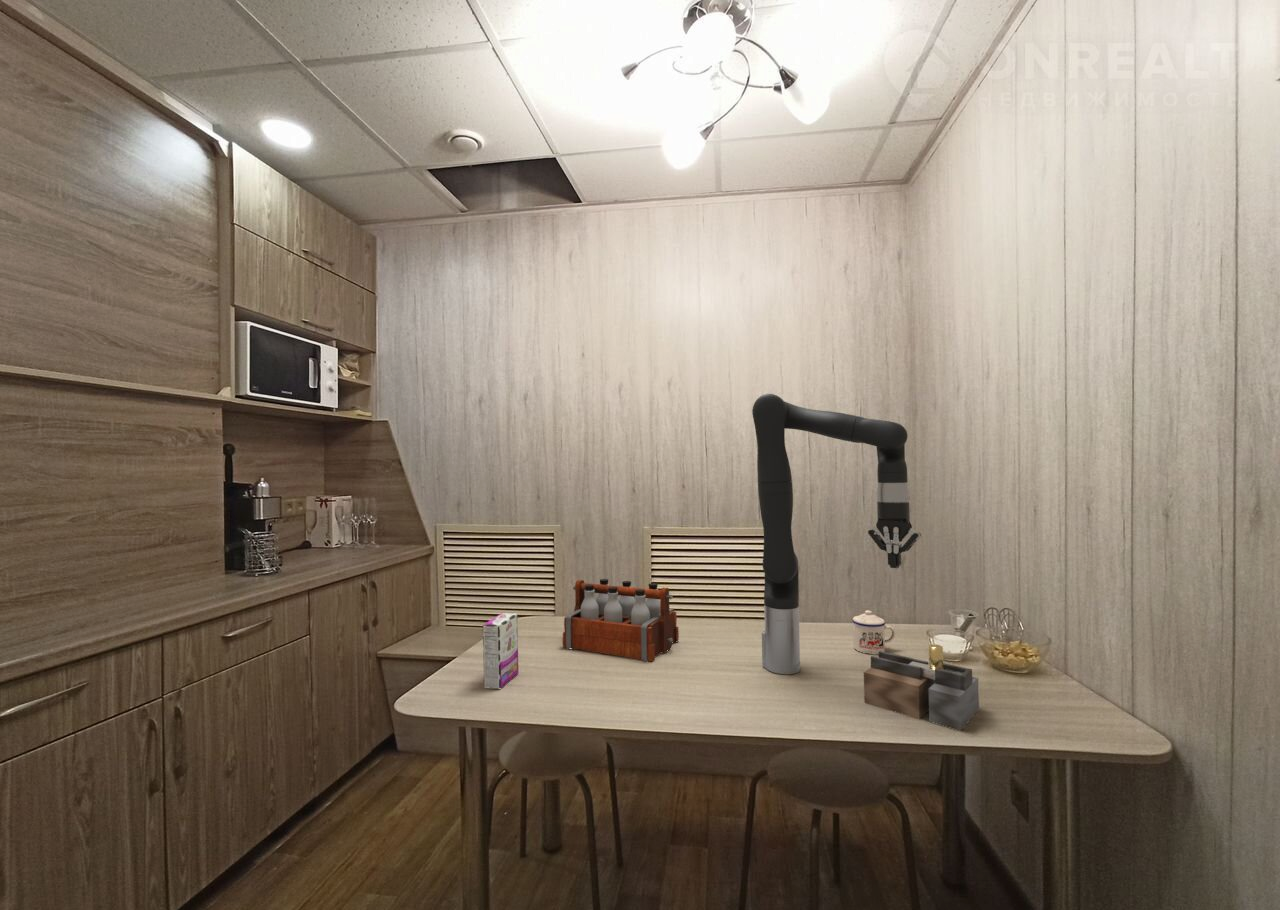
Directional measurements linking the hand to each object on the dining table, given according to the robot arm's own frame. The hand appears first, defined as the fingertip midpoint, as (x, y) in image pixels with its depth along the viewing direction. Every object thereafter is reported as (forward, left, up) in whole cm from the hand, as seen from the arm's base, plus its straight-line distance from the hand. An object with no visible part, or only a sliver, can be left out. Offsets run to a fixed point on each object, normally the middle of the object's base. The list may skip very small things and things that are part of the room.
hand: (894, 567), depth 139 cm
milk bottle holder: (-73, -28, -29) cm, 84 cm away
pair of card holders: (+10, -11, -29) cm, 33 cm away
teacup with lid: (-14, +20, -29) cm, 38 cm away
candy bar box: (-75, -70, -29) cm, 107 cm away
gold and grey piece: (+12, -11, -22) cm, 27 cm away
